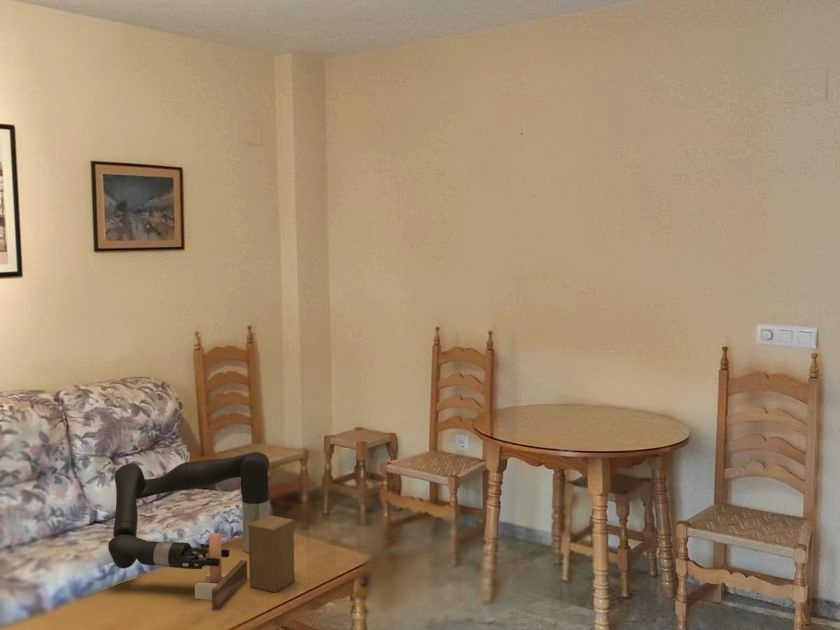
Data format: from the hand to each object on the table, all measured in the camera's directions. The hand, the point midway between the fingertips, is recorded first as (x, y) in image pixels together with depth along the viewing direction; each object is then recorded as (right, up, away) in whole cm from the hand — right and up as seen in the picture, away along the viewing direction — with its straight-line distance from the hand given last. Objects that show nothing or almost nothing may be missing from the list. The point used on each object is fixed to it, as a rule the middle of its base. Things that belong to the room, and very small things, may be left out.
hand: (224, 557), depth 248 cm
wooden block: (+13, -11, +7) cm, 18 cm away
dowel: (-3, -11, +1) cm, 11 cm away
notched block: (-3, -11, +1) cm, 11 cm away
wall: (+2, -11, +1) cm, 11 cm away
